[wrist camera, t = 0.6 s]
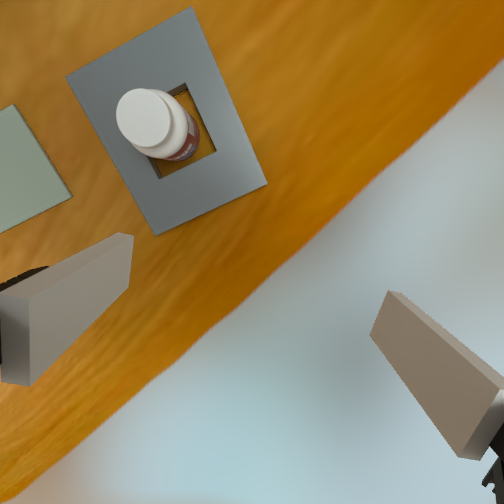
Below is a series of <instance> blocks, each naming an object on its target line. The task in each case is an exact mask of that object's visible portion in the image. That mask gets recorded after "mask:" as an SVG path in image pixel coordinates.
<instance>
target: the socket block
mask: <svg viewBox="0 0 504 504" xmlns="http://www.w3.org/2000/svg"><path fill="white" fill-rule="evenodd" d="M65 78H66V80H67V82H68V83H69V85H70V87H71V89H72V91H73V92H74V94H75V96H76V98H77V99H78V101H79V103H80V105H81V106H82V108H83V110H84V112H85V113H86V115H87V117H88V119H89V120H90V122H91V124H92V126H93V127H94V129H95V131H96V133H97V135H98V136H99V138H100V140H101V142H102V143H103V145H104V147H105V149H106V150H107V152H108V154H109V156H110V157H111V159H112V161H113V163H114V164H115V166H116V168H117V170H118V172H119V173H120V175H121V177H122V179H123V180H124V182H125V184H126V186H127V187H128V189H129V191H130V193H131V194H132V196H133V198H134V200H135V201H136V203H137V205H138V207H139V209H140V210H141V212H142V214H143V216H144V217H145V219H146V221H147V223H148V224H149V226H150V228H151V230H152V231H153V233H154V235H155V236H156V235H159V234H161V233H163V232H165V231H167V230H169V229H171V228H174V227H176V226H178V225H180V224H182V223H184V222H186V221H189V220H191V219H193V218H195V217H197V216H199V215H201V214H204V213H206V212H208V211H210V210H212V209H214V208H217V207H219V206H221V205H223V204H225V203H227V202H229V201H232V200H234V199H236V198H238V197H240V196H242V195H244V194H247V193H249V192H251V191H253V190H255V189H257V188H259V187H262V186H264V185H266V184H267V181H266V179H265V176H264V174H263V172H262V169H261V167H260V165H259V162H258V160H257V158H256V155H255V153H254V151H253V148H252V146H251V144H250V141H249V139H248V137H247V134H246V132H245V130H244V127H243V125H242V123H241V120H240V118H239V115H238V113H237V111H236V108H235V106H234V104H233V101H232V99H231V97H230V94H229V92H228V90H227V87H226V85H225V83H224V80H223V78H222V76H221V73H220V71H219V69H218V66H217V64H216V61H215V59H214V57H213V54H212V52H211V50H210V47H209V45H208V43H207V40H206V38H205V36H204V33H203V31H202V29H201V26H200V24H199V22H198V19H197V17H196V15H195V12H194V10H193V8H192V6H191V7H189V8H187V9H185V10H183V11H182V12H180V13H178V14H176V15H175V16H173V17H171V18H169V19H167V20H166V21H164V22H162V23H160V24H158V25H157V26H155V27H153V28H151V29H150V30H148V31H146V32H144V33H142V34H141V35H139V36H137V37H135V38H134V39H132V40H130V41H128V42H126V43H125V44H123V45H121V46H119V47H117V48H116V49H114V50H112V51H110V52H109V53H107V54H105V55H103V56H101V57H100V58H98V59H96V60H94V61H92V62H91V63H89V64H87V65H85V66H84V67H82V68H80V69H78V70H76V71H75V72H73V73H71V74H69V75H68V76H66V77H65ZM139 88H143V89H157V90H161V91H163V92H166V93H168V94H169V95H171V96H174V95H176V94H178V93H180V92H182V91H184V90H186V89H189V91H190V93H191V96H192V98H193V100H194V102H195V104H196V106H197V109H198V111H199V113H200V115H201V117H202V119H203V122H204V124H205V126H206V128H207V130H208V132H209V135H210V137H211V139H212V141H213V143H214V145H215V148H216V150H217V151H216V152H214V153H212V154H210V155H208V156H206V157H204V158H202V159H200V160H198V161H196V162H194V163H192V164H190V165H188V166H186V167H184V168H182V169H180V170H178V171H175V172H173V173H171V174H169V175H167V176H165V177H162V175H161V173H160V171H159V169H158V167H157V165H156V164H155V162H154V160H153V158H152V157H150V156H147V155H145V154H143V153H141V152H140V151H138V150H137V149H136V148H135V147H134V146H133V145H132V144H131V143H130V141H129V140H127V139H126V138H125V136H124V135H123V134H122V132H121V131H120V129H119V127H118V124H117V119H116V110H117V106H118V103H119V101H120V99H121V98H122V96H123V95H124V94H126V93H127V92H128V91H131V90H133V89H139Z"/></svg>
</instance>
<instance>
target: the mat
mask: <svg viewBox="0 0 504 504" xmlns="http://www.w3.org/2000/svg"><path fill="white" fill-rule="evenodd" d="M72 197H73V196H72V194H71V193H70V191H69V190H68V188H67V186H66V185H65V183H64V182H63V180H62V178H61V177H60V175H59V174H58V172H57V170H56V169H55V167H54V166H53V164H52V162H51V161H50V159H49V158H48V156H47V154H46V153H45V151H44V150H43V148H42V147H41V145H40V143H39V142H38V140H37V139H36V137H35V135H34V134H33V132H32V131H31V129H30V127H29V126H28V124H27V123H26V121H25V119H24V118H23V116H22V115H21V113H20V112H19V110H18V108H17V107H16V105H14V104H12V105H10V106H9V107H7V108H5V109H3V110H2V111H0V233H2V232H4V231H6V230H8V229H10V228H12V227H14V226H16V225H18V224H20V223H22V222H24V221H26V220H28V219H30V218H32V217H34V216H36V215H38V214H40V213H42V212H44V211H46V210H48V209H50V208H52V207H54V206H56V205H58V204H60V203H62V202H64V201H66V200H68V199H70V198H72Z"/></svg>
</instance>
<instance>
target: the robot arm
mask: <svg viewBox="0 0 504 504" xmlns="http://www.w3.org/2000/svg"><path fill="white" fill-rule="evenodd" d="M133 242H134V236H133V235H129V234H124V233H119V232H118V233H116V234H114V235H112V236H110V237H108V238H106V239H104V240H102V241H100V242H98V243H96V244H94V245H92V246H90V247H88V248H86V249H84V250H82V251H80V252H78V253H76V254H74V255H72V256H70V257H68V258H66V259H64V260H62V261H60V262H58V263H56V264H54V265H52V266H50V267H49V266H44V267H40V268H36V269H31V270H29V271H26V272H24V273H22V274H20V275H18V276H17V277H14V278H12V279H10V280H7V282H6V283H5V282H3V283H1V284H0V365H1V382H6V383H12V384H18V385H24V386H31V385H32V384H33V383H34V382H35V381H36V380H37V379H38V378H39V377H40V376H41V375H42V374H43V373H44V372H45V371H46V370H47V369H48V368H49V367H50V366H51V365H52V364H53V363H54V362H55V361H56V360H57V359H58V358H59V357H60V356H61V355H62V354H63V353H64V352H65V351H66V350H67V349H68V348H69V347H70V346H71V345H72V344H73V343H74V342H75V340H76V339H77V338H78V337H79V336H80V335H81V334H82V333H83V332H84V331H85V330H86V329H87V328H88V327H89V326H90V325H91V324H92V323H93V322H94V321H95V320H96V319H97V318H98V317H99V316H100V315H101V314H102V313H103V312H104V311H105V310H106V309H107V308H108V307H109V306H110V305H111V304H112V303H113V302H114V301H115V300H116V299H117V298H118V297H119V296H120V295H121V294H122V293H123V292H124V291H125V290H126V289H127V288H128V287H129V279H130V270H131V261H132V251H133ZM370 336H371V338H372V339H373V340H374V342H375V343H376V345H377V346H378V347H379V349H380V350H381V351H382V353H383V354H384V355H385V357H386V358H387V360H388V361H389V363H390V364H391V365H392V367H393V368H394V369H395V371H396V372H397V374H398V375H399V376H400V378H401V379H402V380H403V382H404V383H405V384H406V386H407V387H408V389H409V390H410V392H411V393H412V394H413V396H414V397H415V398H416V400H417V401H418V403H419V404H420V405H421V407H422V408H423V409H424V411H425V412H426V414H427V415H428V416H429V418H430V419H431V420H432V422H433V423H434V425H435V426H436V427H437V429H438V430H439V432H440V433H441V434H442V436H443V437H444V438H445V440H446V441H447V443H448V444H449V445H450V447H451V448H452V449H453V451H454V452H455V453H456V455H457V456H458V457H460V458H467V459H472V460H479V461H480V460H481V458H482V457H483V455H484V454H485V452H486V451H487V449H488V447H489V446H490V447H491V448H492V449H493V451H494V452H495V453H496V454H497V455H498V456H499V457H498V458H497V460H496V461H495V463H494V464H493V466H492V467H491V469H490V470H489V472H488V473H487V475H486V476H485V477H484V479H483V481H482V485H483V486H485V487H486V486H487V485H488V483H494V484H495V487H494V489H493V490H492V492H493V493H495V494H496V503H497V504H504V377H503V376H502V375H500V374H499V373H498V372H497V371H496V370H494V369H493V368H492V367H491V366H489V365H488V364H487V363H486V362H485V361H483V360H482V359H481V358H480V357H479V356H477V355H476V354H475V353H474V352H472V351H471V350H470V349H469V348H468V347H466V346H465V345H464V344H463V343H461V342H460V341H459V340H458V339H457V338H455V337H454V336H453V335H452V334H450V333H449V332H448V331H447V330H446V329H444V328H443V327H442V326H441V325H440V324H438V323H437V322H436V321H435V320H433V319H432V318H431V317H430V316H429V315H427V314H426V313H425V312H424V311H423V310H421V309H420V308H419V307H418V306H416V305H415V304H414V303H413V302H412V301H410V300H409V299H408V298H407V297H405V296H404V295H403V294H402V293H398V292H393V291H389V290H388V292H387V294H386V296H385V299H384V301H383V304H382V306H381V309H380V311H379V313H378V316H377V318H376V320H375V323H374V325H373V328H372V330H371V333H370Z"/></svg>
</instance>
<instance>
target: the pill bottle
mask: <svg viewBox="0 0 504 504" xmlns="http://www.w3.org/2000/svg"><path fill="white" fill-rule="evenodd" d="M116 119H117V124H118V127H119V129H120V131H121V132H122V134H123V135H124V136H125V138H126V139H127V140H129V141H130V143H131V144H132V145H133V146H134V147H135V148H136V149H137V150H138V151H140V152H141V153H143V154H145V155H147V156H150V157H153V158H159V159H164V160H170V161H182V160H185V159H187V158H189V157H190V156H191V155H192V154H193V153H194V152H195V151H196V149H197V147H198V144H199V138H200V135H199V129H198V126H197V124H196V122H195V120H194V119H193V117H192V116H191V115H190V114H189V113H188V112H187V111H186V110H185V109H184V108H183V107H182V106H181V105H180V104H179V103H178V101H176V100H175V99H174V98H173V97H172V96H171V95H169V94H168V93H166V92H163V91H161V90H157V89H143V88H139V89H133V90H131V91H128V92H127V93H126V94H124V95H123V96H122V98H121V99H120V101H119V103H118V106H117V110H116Z"/></svg>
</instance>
